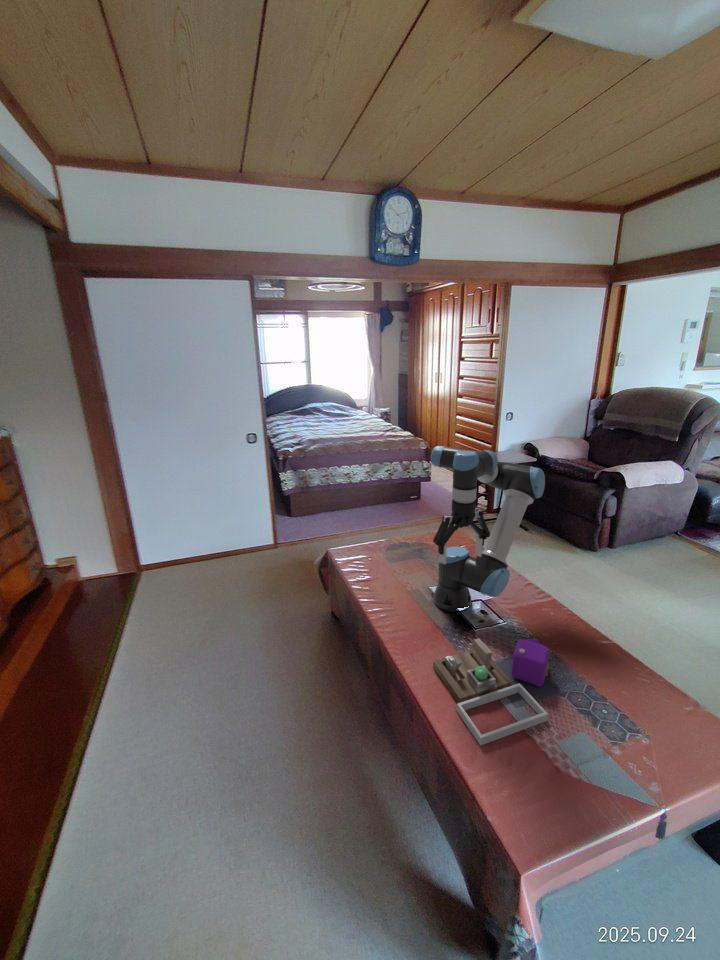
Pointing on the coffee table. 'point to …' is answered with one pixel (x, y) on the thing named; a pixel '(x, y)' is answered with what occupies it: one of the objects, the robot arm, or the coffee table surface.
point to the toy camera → (530, 662)
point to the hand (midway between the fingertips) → (460, 558)
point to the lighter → (452, 665)
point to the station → (472, 674)
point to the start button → (481, 673)
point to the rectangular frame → (507, 729)
